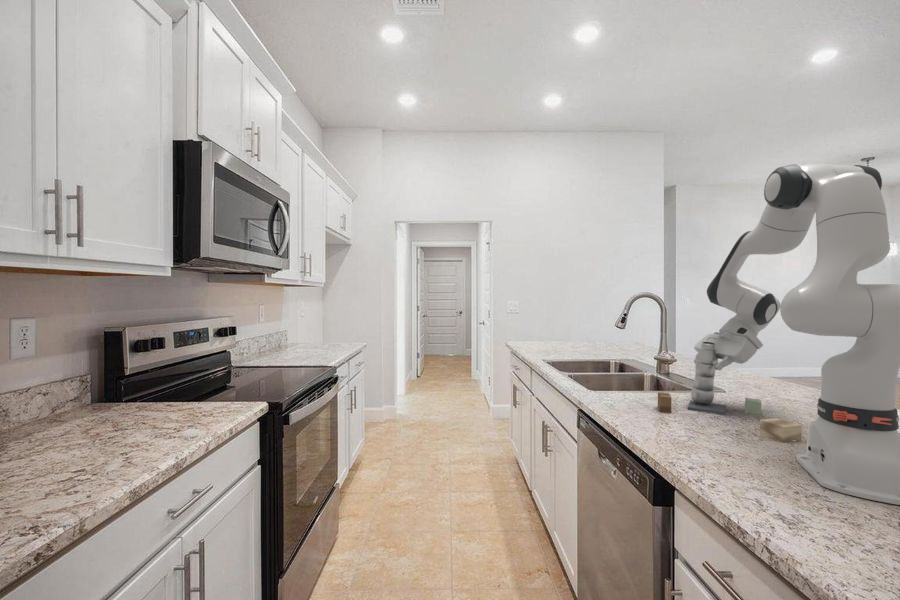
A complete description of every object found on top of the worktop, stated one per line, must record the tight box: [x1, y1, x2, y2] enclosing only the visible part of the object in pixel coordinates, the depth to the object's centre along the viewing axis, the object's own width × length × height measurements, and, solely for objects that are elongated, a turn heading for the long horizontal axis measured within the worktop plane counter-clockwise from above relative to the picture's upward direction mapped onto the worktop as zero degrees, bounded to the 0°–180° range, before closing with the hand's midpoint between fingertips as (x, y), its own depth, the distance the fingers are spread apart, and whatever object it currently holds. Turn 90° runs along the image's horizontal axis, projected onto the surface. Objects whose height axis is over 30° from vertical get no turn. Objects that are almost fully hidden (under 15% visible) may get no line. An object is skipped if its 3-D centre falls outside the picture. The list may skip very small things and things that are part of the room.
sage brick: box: [744, 397, 762, 416], centre depth 129 cm, size 4×4×4 cm
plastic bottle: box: [690, 342, 719, 404], centre depth 135 cm, size 6×7×20 cm
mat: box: [687, 399, 727, 416], centre depth 133 cm, size 10×10×1 cm
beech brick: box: [759, 417, 803, 443], centre depth 107 cm, size 6×6×4 cm
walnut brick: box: [657, 391, 672, 414], centre depth 131 cm, size 6×3×5 cm, turn 161°
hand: (705, 365), depth 133 cm, fingers open, 8 cm apart
